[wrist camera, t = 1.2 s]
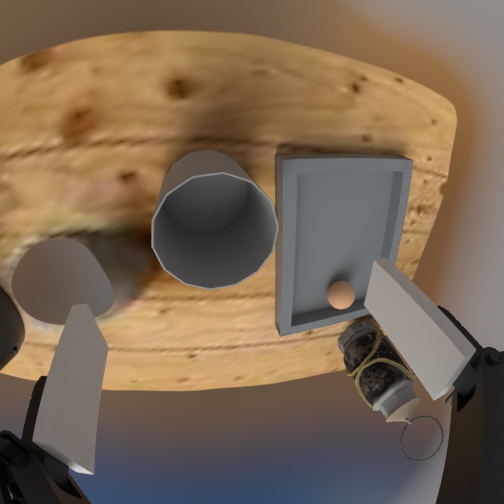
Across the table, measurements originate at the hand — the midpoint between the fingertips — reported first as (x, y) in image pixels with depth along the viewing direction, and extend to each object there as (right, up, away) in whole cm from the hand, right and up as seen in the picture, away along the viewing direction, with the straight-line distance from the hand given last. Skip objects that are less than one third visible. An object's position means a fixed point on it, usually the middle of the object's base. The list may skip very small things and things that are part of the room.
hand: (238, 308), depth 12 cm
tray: (+11, +3, +21) cm, 24 cm away
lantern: (+17, -11, +31) cm, 38 cm away
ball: (+11, -2, +24) cm, 26 cm away
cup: (-4, +8, +15) cm, 17 cm away
